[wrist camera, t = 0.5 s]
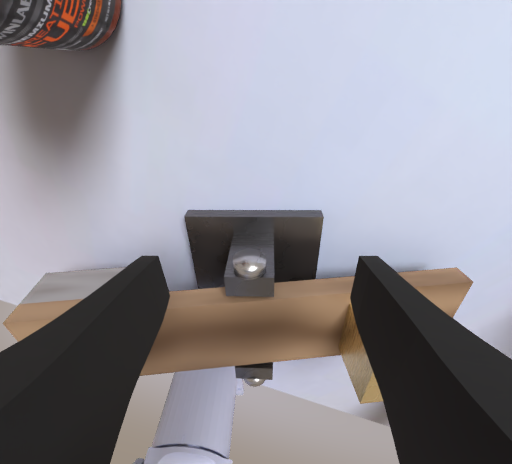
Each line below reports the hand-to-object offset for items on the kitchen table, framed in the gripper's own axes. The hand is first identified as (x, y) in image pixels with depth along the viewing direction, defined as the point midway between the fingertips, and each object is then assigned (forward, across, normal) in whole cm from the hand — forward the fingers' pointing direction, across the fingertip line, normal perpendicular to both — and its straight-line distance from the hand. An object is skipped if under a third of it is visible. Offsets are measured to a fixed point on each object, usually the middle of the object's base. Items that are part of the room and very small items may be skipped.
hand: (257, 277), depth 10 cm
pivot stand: (+10, +1, +10) cm, 14 cm away
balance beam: (+9, +1, +10) cm, 13 cm away
